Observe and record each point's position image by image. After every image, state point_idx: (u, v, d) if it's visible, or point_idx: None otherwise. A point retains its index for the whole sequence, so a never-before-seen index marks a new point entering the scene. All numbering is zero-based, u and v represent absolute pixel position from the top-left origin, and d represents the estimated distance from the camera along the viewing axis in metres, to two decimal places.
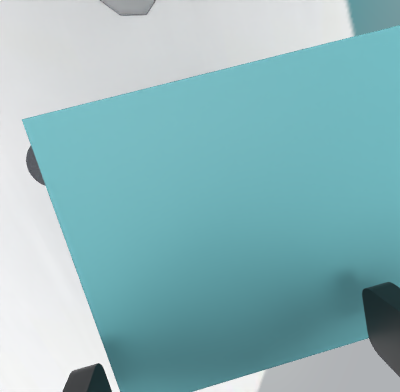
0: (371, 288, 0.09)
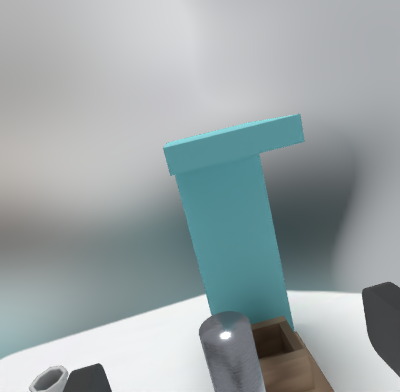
0: (371, 288, 0.09)
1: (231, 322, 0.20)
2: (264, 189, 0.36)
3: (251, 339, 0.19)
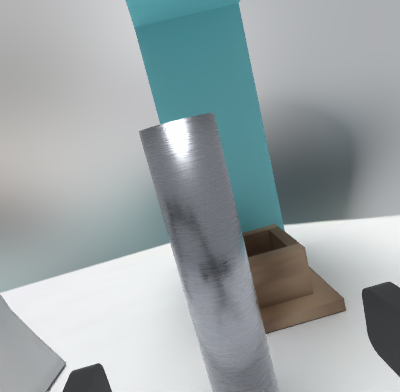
0: (371, 288, 0.09)
1: None
2: (249, 69, 0.30)
3: (215, 130, 0.13)
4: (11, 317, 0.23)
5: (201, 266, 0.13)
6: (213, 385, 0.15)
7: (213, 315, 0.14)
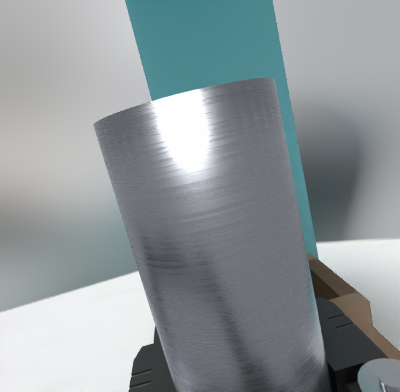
0: None
1: None
2: (277, 45, 0.22)
3: (281, 124, 0.05)
4: None
5: None
6: None
7: None
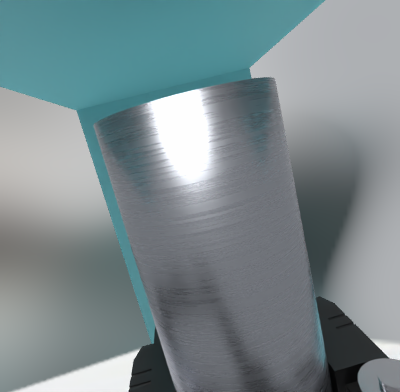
0: None
1: None
2: None
3: (281, 124, 0.05)
4: None
5: None
6: None
7: None
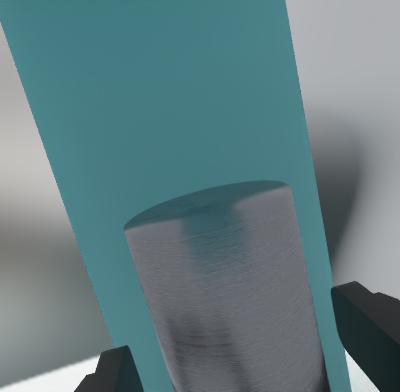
0: (337, 287, 0.09)
1: (228, 195, 0.06)
2: (290, 64, 0.12)
3: (297, 231, 0.06)
4: None
5: None
6: None
7: None
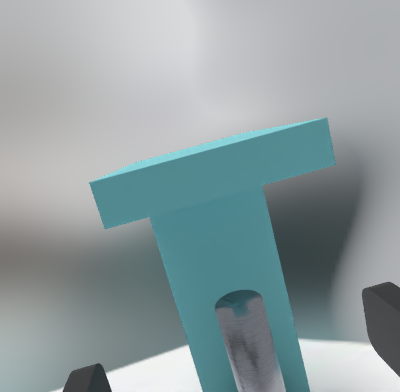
0: (371, 288, 0.09)
1: (244, 298, 0.21)
2: (268, 221, 0.27)
3: (264, 312, 0.20)
4: None
5: None
6: None
7: None
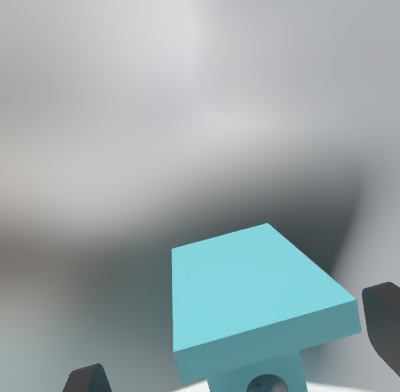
0: (371, 288, 0.09)
1: (272, 386, 0.25)
2: None
3: None
4: None
5: None
6: None
7: None
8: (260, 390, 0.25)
